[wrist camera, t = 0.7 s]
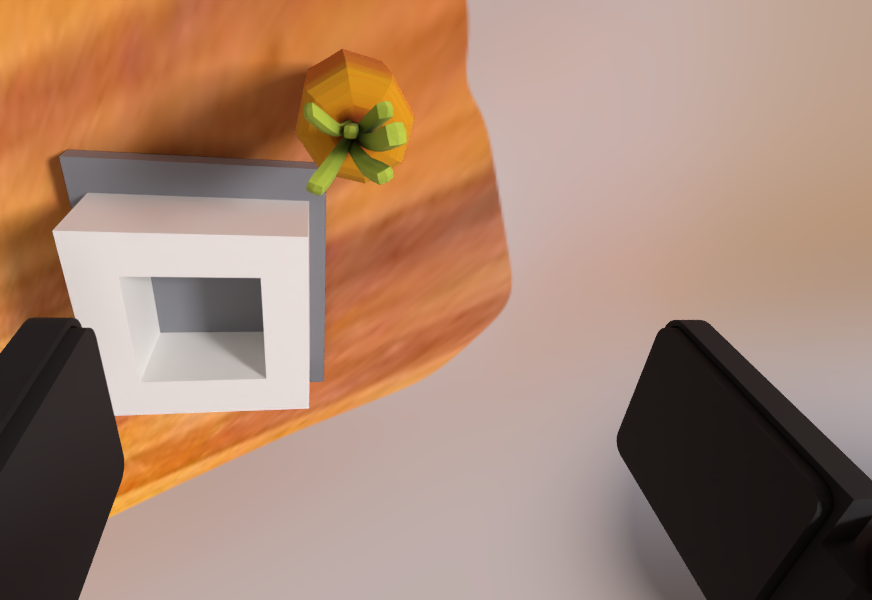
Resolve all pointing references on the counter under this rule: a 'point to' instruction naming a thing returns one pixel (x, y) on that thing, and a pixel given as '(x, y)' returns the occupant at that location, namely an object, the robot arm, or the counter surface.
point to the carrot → (352, 120)
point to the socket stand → (197, 278)
